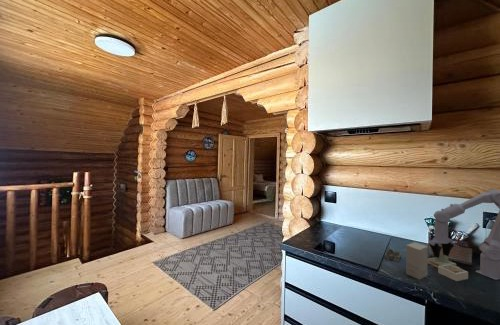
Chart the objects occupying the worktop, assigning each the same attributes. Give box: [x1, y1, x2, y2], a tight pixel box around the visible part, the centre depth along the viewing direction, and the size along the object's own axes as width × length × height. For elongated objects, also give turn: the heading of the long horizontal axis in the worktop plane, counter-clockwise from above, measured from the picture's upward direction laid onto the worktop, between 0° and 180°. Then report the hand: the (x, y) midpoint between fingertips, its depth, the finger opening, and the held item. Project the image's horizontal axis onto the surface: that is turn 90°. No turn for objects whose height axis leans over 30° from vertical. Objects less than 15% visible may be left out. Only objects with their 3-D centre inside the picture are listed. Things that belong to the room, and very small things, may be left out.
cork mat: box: [428, 260, 461, 269], centre depth 119 cm, size 11×11×1 cm
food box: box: [437, 264, 469, 282], centre depth 108 cm, size 8×8×4 cm
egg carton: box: [384, 247, 402, 263], centre depth 128 cm, size 11×8×4 cm
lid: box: [428, 252, 457, 266], centre depth 119 cm, size 9×9×5 cm
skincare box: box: [405, 241, 429, 280], centre depth 108 cm, size 8×7×16 cm
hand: (441, 256), depth 119 cm, fingers open, 6 cm apart
